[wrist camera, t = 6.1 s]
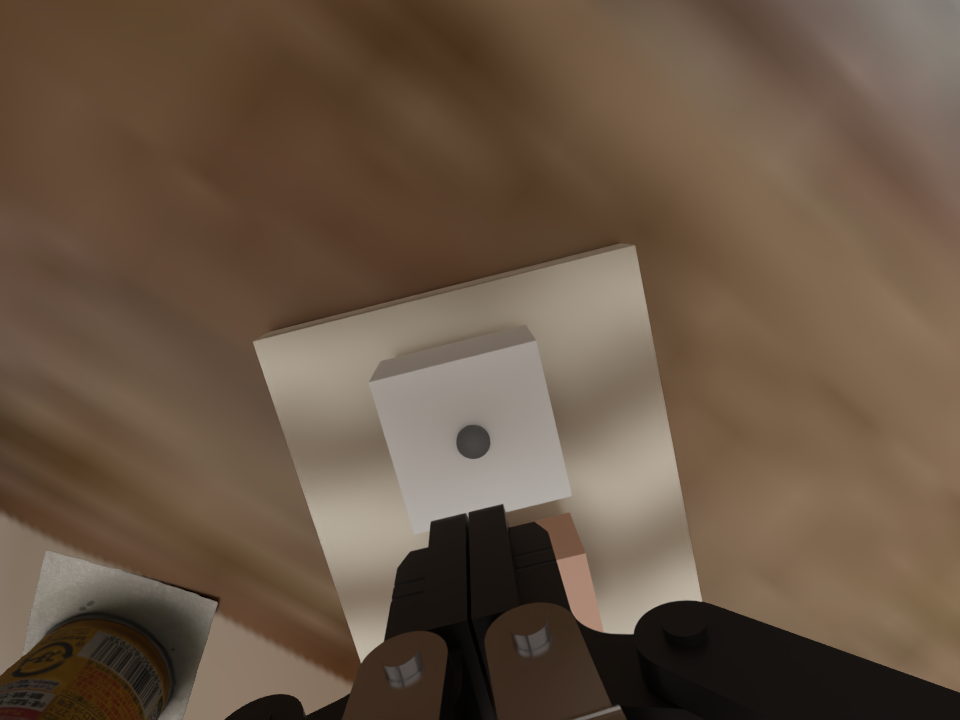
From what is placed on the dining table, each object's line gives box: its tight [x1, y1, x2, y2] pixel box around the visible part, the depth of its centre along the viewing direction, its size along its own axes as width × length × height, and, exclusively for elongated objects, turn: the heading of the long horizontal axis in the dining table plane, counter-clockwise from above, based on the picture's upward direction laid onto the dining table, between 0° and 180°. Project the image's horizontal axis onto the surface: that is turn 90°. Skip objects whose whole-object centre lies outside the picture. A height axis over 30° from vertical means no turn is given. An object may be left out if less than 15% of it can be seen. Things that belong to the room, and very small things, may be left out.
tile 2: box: [512, 512, 604, 632], centre depth 21 cm, size 5×5×3 cm
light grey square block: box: [369, 325, 572, 535], centre depth 20 cm, size 5×5×3 cm
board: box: [253, 243, 702, 663], centre depth 25 cm, size 22×14×4 cm, turn 14°
